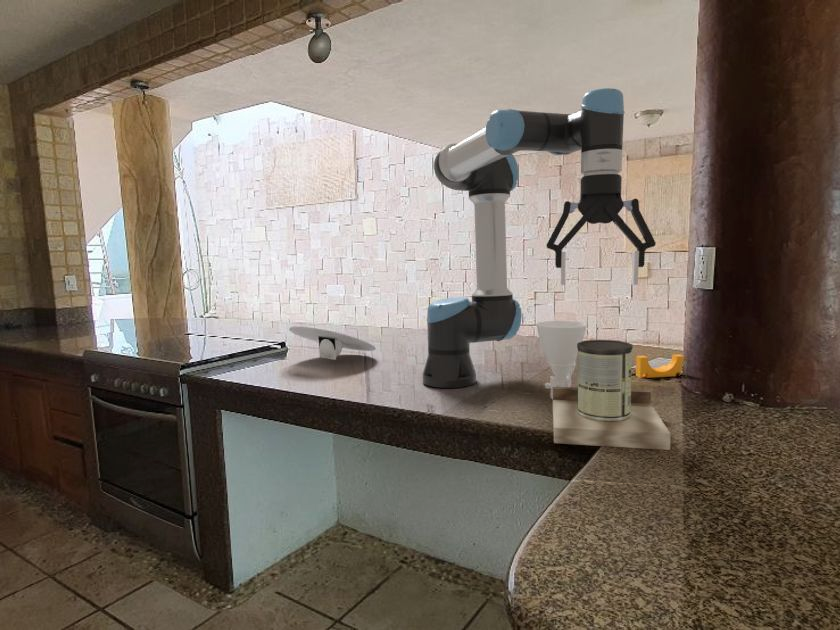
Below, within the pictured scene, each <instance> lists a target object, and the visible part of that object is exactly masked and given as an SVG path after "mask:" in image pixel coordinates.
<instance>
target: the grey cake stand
mask: <svg viewBox="0 0 840 630" xmlns="http://www.w3.org/2000/svg"><path fill="white" fill-rule="evenodd" d="M288 331H290V332H291V333H292V334H294V335H296V336H299V337H301V338H303V339H306V340H308V341H312V342H315V343H318V351H319V352H318V353H319V358H323V359H329V360H333V361H335V360H337V357H338V356H339V355H340V354H341V353H342V351H343V349H345V350H350V351H351V350H353V351H360V352H372V351H373V352H374V351H376V349H377V348H376V347H375V345H373V344H371V343H369V341H368V342H367V341H365V340H362V339H360V338H358V337H354V336H350V335H347V334H343V333H341V332H336V331H331V330H327V329H321V328H315V327H309V326H308V327H307V326H291V327H289V328H288Z"/></svg>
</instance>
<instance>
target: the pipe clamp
mask: <svg viewBox="0 0 840 630" xmlns="http://www.w3.org/2000/svg"><path fill="white" fill-rule="evenodd" d="M683 356H684V355H682V354H680V353H679V354H677V353H675V354H672V356H671V360H670V362H669V363H668V364H662V365H661V366H659V367H653V368H652V366H651V364H650V363H649V357H648V356H646V355H636V357H635V358H636V360H635V377H637V378H639V379H645V378H646V379H647V378H665V377H677V376H680V375H681V370H682V363H683ZM676 373H677V374H678V375H677V374H676ZM680 377H681V376H680Z"/></svg>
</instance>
